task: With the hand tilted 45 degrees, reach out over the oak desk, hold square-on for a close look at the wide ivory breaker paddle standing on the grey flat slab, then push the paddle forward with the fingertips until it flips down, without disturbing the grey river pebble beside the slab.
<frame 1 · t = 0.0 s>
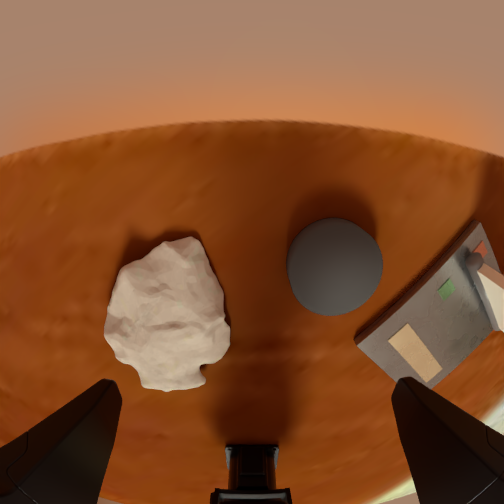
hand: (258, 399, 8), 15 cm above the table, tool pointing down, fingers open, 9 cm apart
grey river pebble: (330, 261, 23), on the table
grey flat slab: (446, 321, 25), on the table
decorative stone: (171, 314, 24), on the table
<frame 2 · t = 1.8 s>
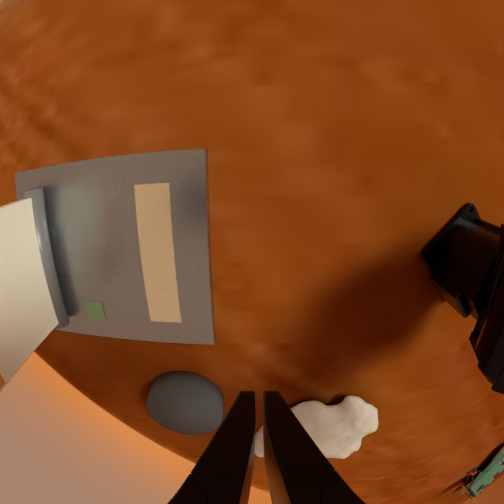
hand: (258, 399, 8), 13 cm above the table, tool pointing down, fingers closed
grey river pebble: (187, 395, 25), on the table
toy airplane: (488, 460, 41), on the table
breaker paddle: (5, 287, 14), point 7 cm above the table, hinge at 0.0°
grey flat slab: (106, 252, 20), on the table
decorative stone: (309, 426, 27), on the table
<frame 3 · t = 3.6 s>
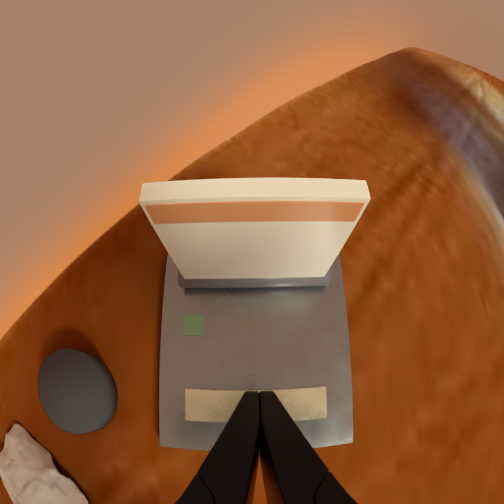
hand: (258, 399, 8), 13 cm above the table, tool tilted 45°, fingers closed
grey river pebble: (83, 391, 20), on the table
breaker paddle: (254, 246, 17), point 7 cm above the table, hinge at 0.0°
grey flat slab: (255, 346, 21), on the table
decorative stone: (49, 491, 15), on the table
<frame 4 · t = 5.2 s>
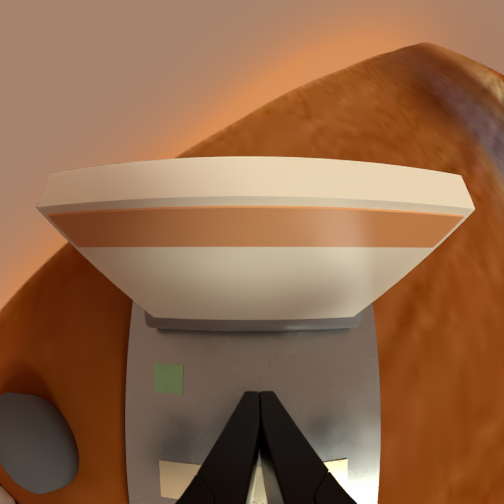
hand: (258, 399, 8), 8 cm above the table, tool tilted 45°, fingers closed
grey river pebble: (41, 442, 13), on the table
breaker paddle: (255, 281, 11), point 7 cm above the table, hinge at 0.0°
grey flat slab: (253, 408, 15), on the table
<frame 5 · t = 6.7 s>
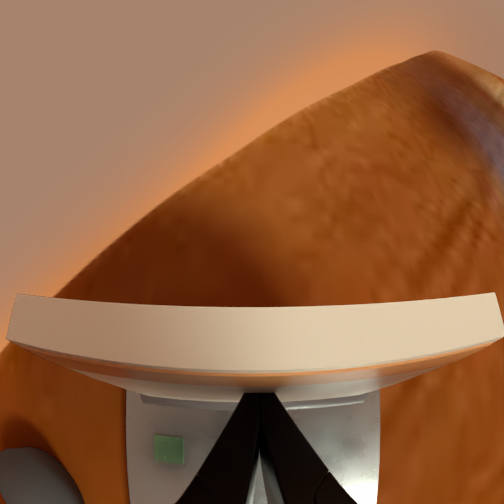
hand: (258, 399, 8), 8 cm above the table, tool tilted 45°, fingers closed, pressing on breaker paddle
grey river pebble: (47, 489, 11), on the table
breaker paddle: (256, 382, 9), point 7 cm above the table, hinge at 6.5°, touching gripper
grey flat slab: (253, 473, 13), on the table
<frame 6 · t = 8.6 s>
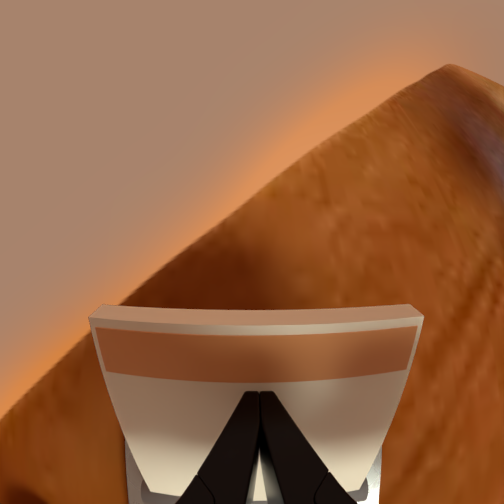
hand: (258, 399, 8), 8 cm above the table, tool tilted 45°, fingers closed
breaker paddle: (256, 446, 9), point 5 cm above the table, hinge at 51.3°
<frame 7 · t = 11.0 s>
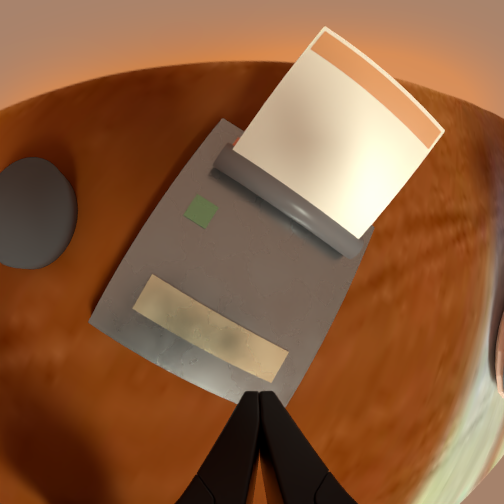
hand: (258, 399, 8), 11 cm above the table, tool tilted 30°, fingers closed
grey river pebble: (35, 217, 16), on the table
breaker paddle: (338, 143, 17), point 5 cm above the table, hinge at 51.3°
grey flat slab: (245, 271, 19), on the table
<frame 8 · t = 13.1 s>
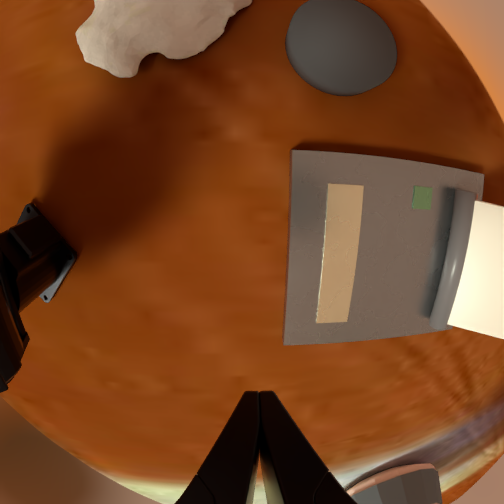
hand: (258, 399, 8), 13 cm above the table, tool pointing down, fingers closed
grey river pebble: (336, 50, 16), on the table
desk lamp: (381, 482, 34), on the table
grey flat slab: (391, 253, 20), on the table
decorative stone: (177, 1, 14), on the table
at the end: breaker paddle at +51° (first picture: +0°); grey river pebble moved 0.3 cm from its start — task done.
